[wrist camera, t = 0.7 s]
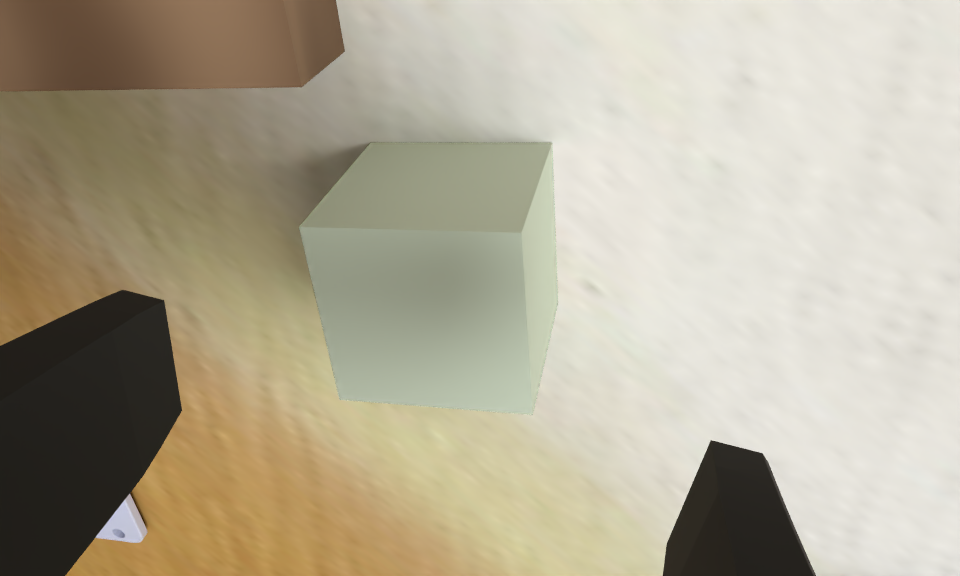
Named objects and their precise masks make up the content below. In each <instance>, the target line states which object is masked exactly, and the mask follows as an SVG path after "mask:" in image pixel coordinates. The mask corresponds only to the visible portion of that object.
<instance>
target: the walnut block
mask: <svg viewBox="0 0 960 576" xmlns="http://www.w3.org/2000/svg"><path fill="white" fill-rule="evenodd" d="M343 52H345V51H344V45H343V39H342V33H341V28H340V22H339V16H338V10H337V5H336V0H0V91H57V90H129V89H201V88H274V87H302V86H304V85H305V84H306V83H307V82H308V81H310V80H311V79H312V78H313V77H314V76H316V75H317V74H318V73H319V72H320V71H322V70H323V69H324V68H325V67H326V66H328V65H329V64H330V63H331V62H333V61H334V60H335V59H336V58H337V57H339V56H340V55H341V54H342V53H343Z"/></svg>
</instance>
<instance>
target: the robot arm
mask: <svg viewBox="0 0 960 576" xmlns="http://www.w3.org/2000/svg"><path fill="white" fill-rule="evenodd" d="M181 411H182V408H181V402H180V395H179V389H178V383H177V377H176V371H175V365H174V358H173V352H172V346H171V340H170V334H169V328H168V322H167V315H166V309H165V303H164V300H160V299H157V298H153V297H149V296H145V295H141V294H137V293H133V292H129V291H125V290H121V291H119V292H116V293H114V294H111V295H109V296H106V297H104V298H102V299H100V300H97V301H95V302H93V303H91V304H88V305H86V306H84V307H82V308H80V309H78V310H75V311H73V312H71V313H69V314H67V315H65V316H63V317H60V318H58V319H56V320H54V321H52V322H50V323H48V324H46V325H44V326H42V327H39V328H37V329H35V330H33V331H31V332H29V333H27V334H25V335H23V336H21V337H18V338H16V339H14V340H12V341H10V342H8V343H6V344H3V345H1V346H0V576H65V575H66V574H67V573H68V571H69V570H70V569H71V568H72V566H73V565H74V564H75V562H76V561H77V560H78V559H79V557H80V556H81V555H82V554H83V552H84V551H85V550H86V549H87V547H88V546H89V545H90V544H91V542H92V541H93V540H94V538H102V539H110V540H117V541H125V542H132V543H138V542H141V541H142V540H143V539H144V537H145V536H146V534H147V529H146V527H145V524H144V522H143V520H142V518H141V516H140V514H139V512H138V509H137V507H136V505H135V503H134V501H133V499H132V497H131V495H130V492H131V491H132V490H133V488H134V487H135V486H136V484H137V483H138V482H139V481H140V479H141V478H142V477H143V475H144V474H145V472H146V470H147V469H148V467H149V466H150V464H151V462H152V461H153V459H154V457H155V456H156V454H157V453H158V451H159V449H160V448H161V446H162V444H163V443H164V441H165V439H166V437H167V436H168V434H169V432H170V430H171V429H172V427H173V425H174V423H175V422H176V420H177V418H178V416H179V415H180V413H181ZM663 576H816V575H815V572H814V570H813V568H812V566H811V564H810V561H809V559H808V557H807V555H806V552H805V550H804V548H803V545H802V543H801V541H800V539H799V536H798V534H797V532H796V530H795V527H794V525H793V522H792V520H791V518H790V515H789V513H788V511H787V508H786V506H785V503H784V501H783V498H782V496H781V493H780V491H779V488H778V486H777V484H776V481H775V479H774V476H773V473H772V471H771V468H770V466H769V463H768V461H767V460H766V458H765V457H764V455H763V454H762V453H759V452H755V451H751V450H747V449H743V448H739V447H735V446H731V445H727V444H723V443H720V442H716V441H712V440H711V441H710V444H709V446H708V448H707V451H706V453H705V455H704V458H703V460H702V463H701V465H700V467H699V470H698V472H697V474H696V477H695V479H694V481H693V484H692V486H691V488H690V491H689V493H688V495H687V498H686V500H685V502H684V505H683V507H682V509H681V512H680V514H679V517H678V519H677V521H676V524H675V526H674V528H673V531H672V533H671V535H670V538H669V540H668V542H667V547H666V555H665V563H664V571H663Z"/></svg>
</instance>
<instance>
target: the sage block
mask: <svg viewBox="0 0 960 576" xmlns="http://www.w3.org/2000/svg"><path fill="white" fill-rule="evenodd" d="M299 230H300V234H301V238H302V243H303V247H304V251H305V255H306V259H307V264H308V268H309V272H310V276H311V281H312V285H313V289H314V293H315V297H316V302H317V306H318V310H319V314H320V319H321V323H322V327H323V331H324V336H325V340H326V344H327V348H328V352H329V357H330V361H331V365H332V369H333V374H334V378H335V382H336V386H337V390H338V395H339V399H340V400H350V401H362V402H375V403H388V404H400V405H413V406H426V407H438V408H451V409H464V410H476V411H489V412H502V413H514V414H527V415H533V412H534V408H535V403H536V399H537V394H538V390H539V385H540V381H541V376H542V372H543V368H544V363H545V359H546V354H547V350H548V345H549V341H550V337H551V332H552V328H553V323H554V319H555V314H556V310H557V305H558V286H557V258H556V231H555V203H554V176H553V148H552V143H393V142H371V143H370V144H369V145H368V146H367V147H366V149H365V150H364V151H363V152H362V153H361V154H360V156H359V157H358V158H357V159H356V160H355V162H354V163H353V164H352V165H351V166H350V167H349V169H348V170H347V171H346V172H345V173H344V174H343V176H342V177H341V178H340V179H339V180H338V182H337V183H336V184H335V185H334V186H333V187H332V189H331V190H330V191H329V192H328V193H327V194H326V196H325V197H324V198H323V199H322V200H321V202H320V203H319V204H318V205H317V206H316V207H315V209H314V210H313V211H312V212H311V213H310V214H309V216H308V217H307V218H306V219H305V220H304V222H303V223H302V224H301V225H300V226H299Z"/></svg>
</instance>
